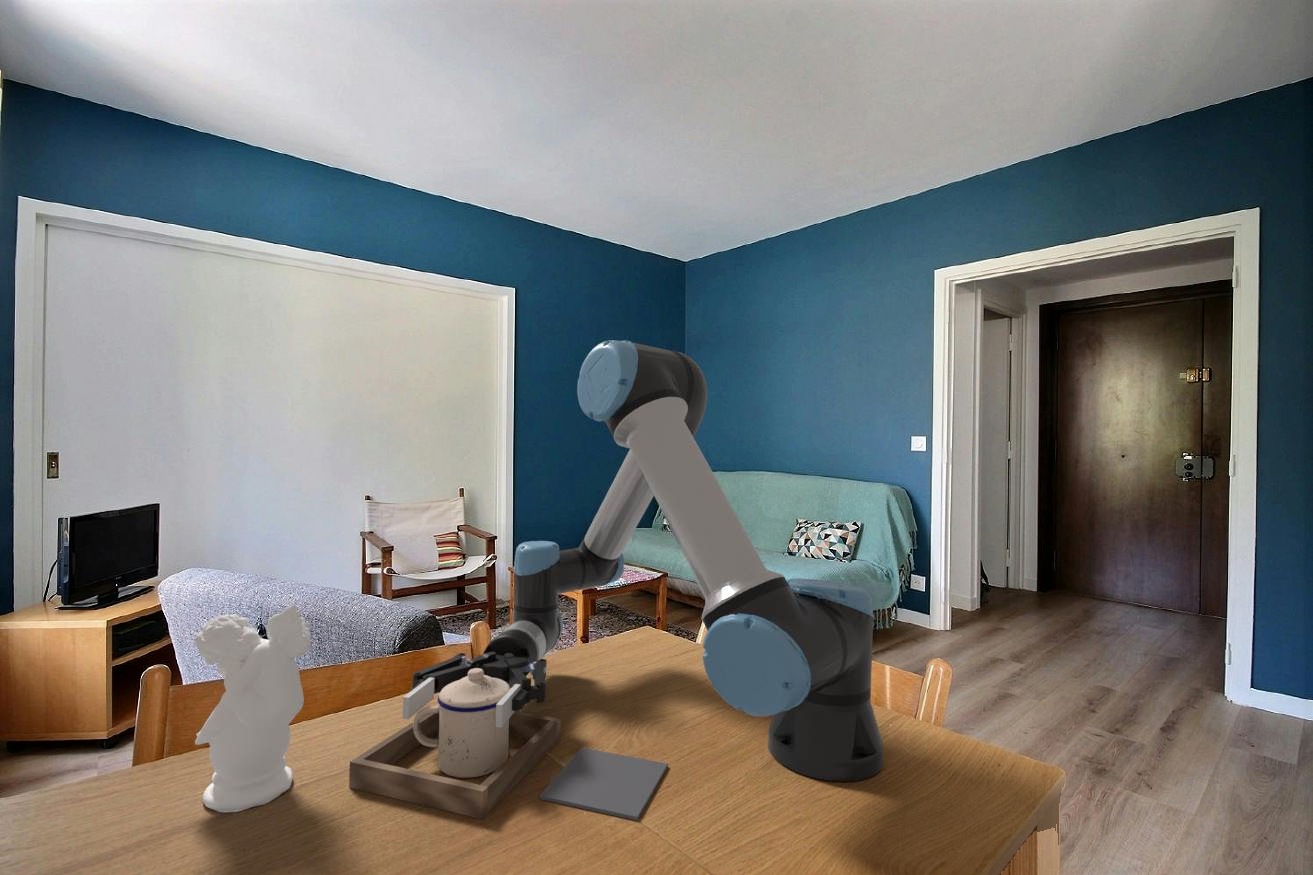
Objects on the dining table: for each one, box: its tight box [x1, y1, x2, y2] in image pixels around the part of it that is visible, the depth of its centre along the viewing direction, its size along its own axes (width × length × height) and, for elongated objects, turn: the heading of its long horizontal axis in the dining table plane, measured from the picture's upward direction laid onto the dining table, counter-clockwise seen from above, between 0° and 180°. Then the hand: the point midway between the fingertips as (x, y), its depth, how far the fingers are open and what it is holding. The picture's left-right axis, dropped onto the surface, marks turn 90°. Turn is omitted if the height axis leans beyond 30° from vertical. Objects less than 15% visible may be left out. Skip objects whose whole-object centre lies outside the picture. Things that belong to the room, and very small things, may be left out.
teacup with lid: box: [413, 668, 511, 779], centre depth 79 cm, size 12×9×12 cm
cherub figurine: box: [194, 603, 312, 813], centre depth 73 cm, size 12×12×22 cm
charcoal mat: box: [538, 747, 669, 821], centre depth 75 cm, size 12×12×1 cm
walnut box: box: [348, 704, 561, 820], centre depth 79 cm, size 18×19×3 cm
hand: (451, 712), depth 75 cm, fingers closed on teacup with lid, 11 cm apart
